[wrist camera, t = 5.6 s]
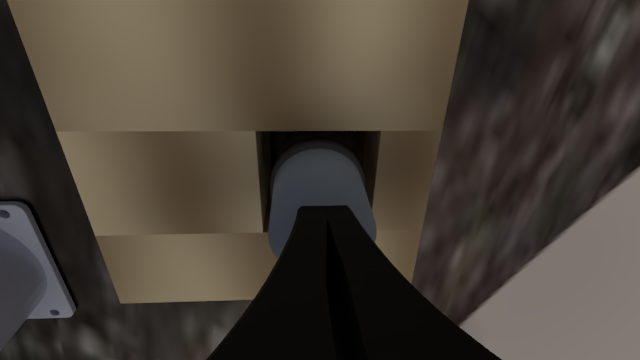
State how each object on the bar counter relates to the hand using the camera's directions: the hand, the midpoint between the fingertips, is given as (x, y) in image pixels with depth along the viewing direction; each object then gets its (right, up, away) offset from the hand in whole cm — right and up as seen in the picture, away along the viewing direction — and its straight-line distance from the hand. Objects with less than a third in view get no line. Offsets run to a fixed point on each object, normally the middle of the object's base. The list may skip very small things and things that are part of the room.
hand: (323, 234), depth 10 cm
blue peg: (0, +2, +4) cm, 4 cm away
